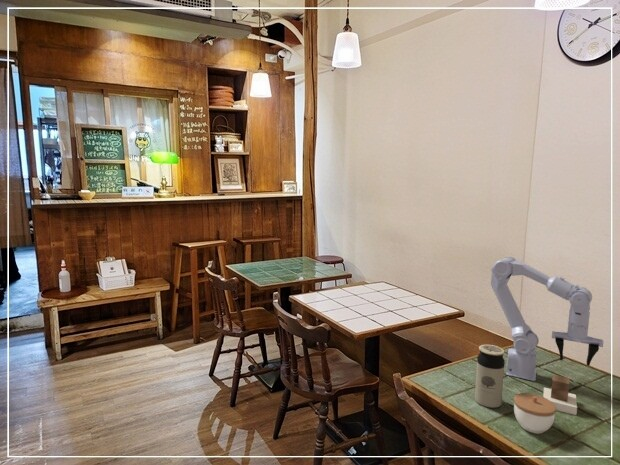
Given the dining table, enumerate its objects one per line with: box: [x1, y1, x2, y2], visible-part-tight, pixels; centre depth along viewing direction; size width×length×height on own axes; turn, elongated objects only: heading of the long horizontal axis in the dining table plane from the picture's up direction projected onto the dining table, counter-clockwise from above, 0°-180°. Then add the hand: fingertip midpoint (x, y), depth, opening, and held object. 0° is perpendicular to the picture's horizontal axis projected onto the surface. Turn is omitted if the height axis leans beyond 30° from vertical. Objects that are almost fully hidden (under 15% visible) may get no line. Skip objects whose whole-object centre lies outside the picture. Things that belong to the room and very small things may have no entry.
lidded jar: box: [513, 392, 557, 435], centre depth 118 cm, size 11×11×9 cm
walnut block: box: [550, 374, 570, 402], centre depth 130 cm, size 4×4×6 cm
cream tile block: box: [542, 387, 578, 416], centre depth 130 cm, size 9×9×3 cm
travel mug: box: [474, 344, 506, 409], centre depth 130 cm, size 8×8×18 cm
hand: (574, 361), depth 139 cm, fingers open, 7 cm apart
